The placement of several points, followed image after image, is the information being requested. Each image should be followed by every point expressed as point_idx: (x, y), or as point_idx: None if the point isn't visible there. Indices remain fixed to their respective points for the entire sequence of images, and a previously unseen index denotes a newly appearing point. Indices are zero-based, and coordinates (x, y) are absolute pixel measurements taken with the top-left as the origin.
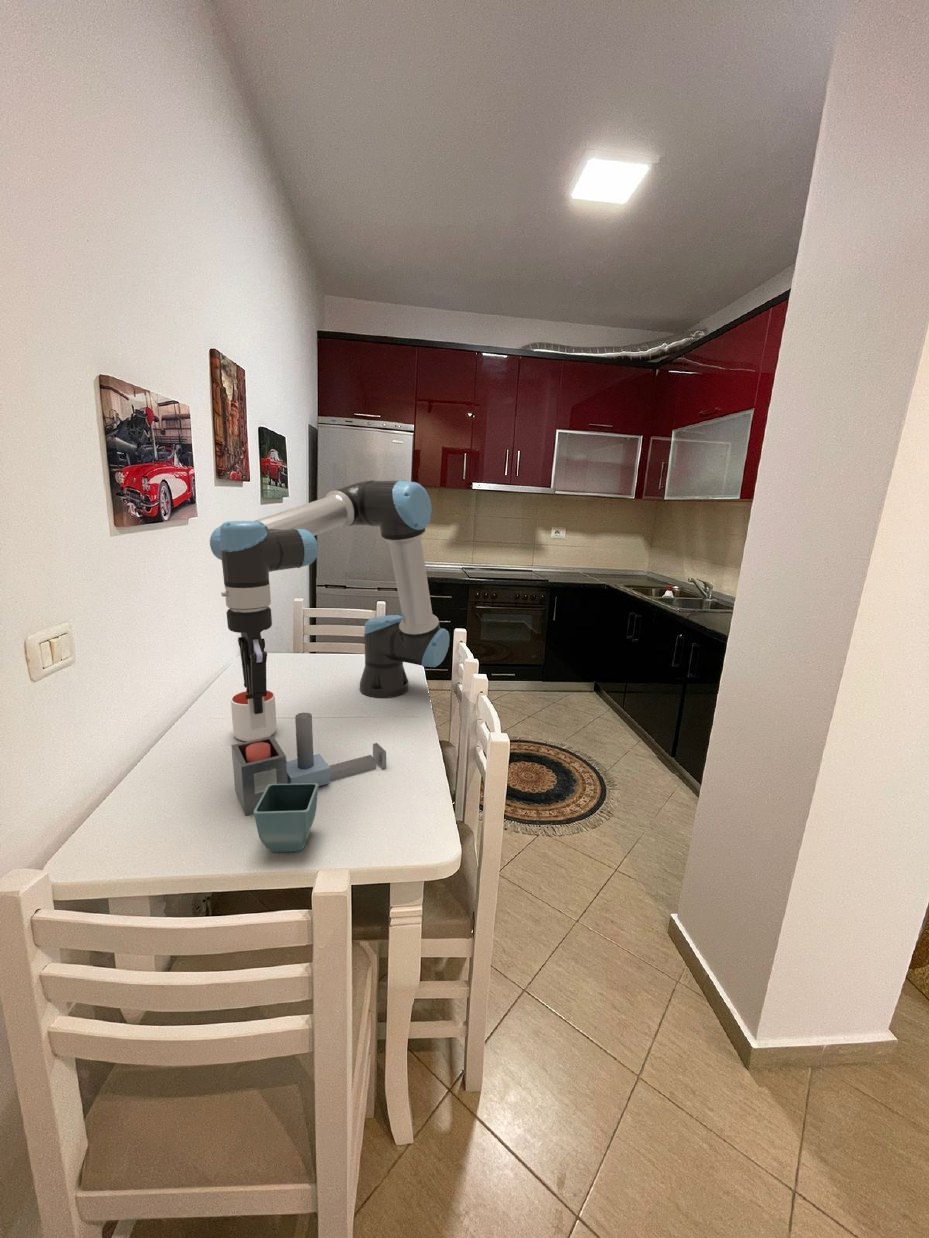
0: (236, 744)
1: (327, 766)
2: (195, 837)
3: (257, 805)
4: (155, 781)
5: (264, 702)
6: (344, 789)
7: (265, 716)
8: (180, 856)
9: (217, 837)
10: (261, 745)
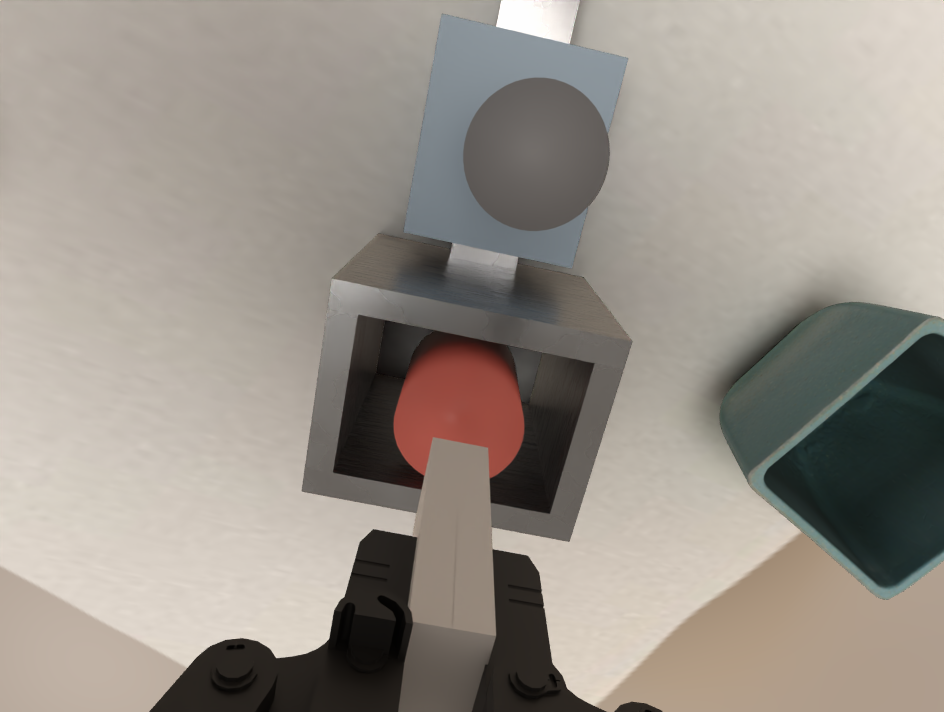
0: (312, 471)
1: (603, 61)
2: (544, 564)
3: (857, 575)
4: (119, 557)
5: (491, 574)
6: (672, 31)
7: (488, 490)
8: (600, 614)
9: (592, 523)
10: (446, 403)
